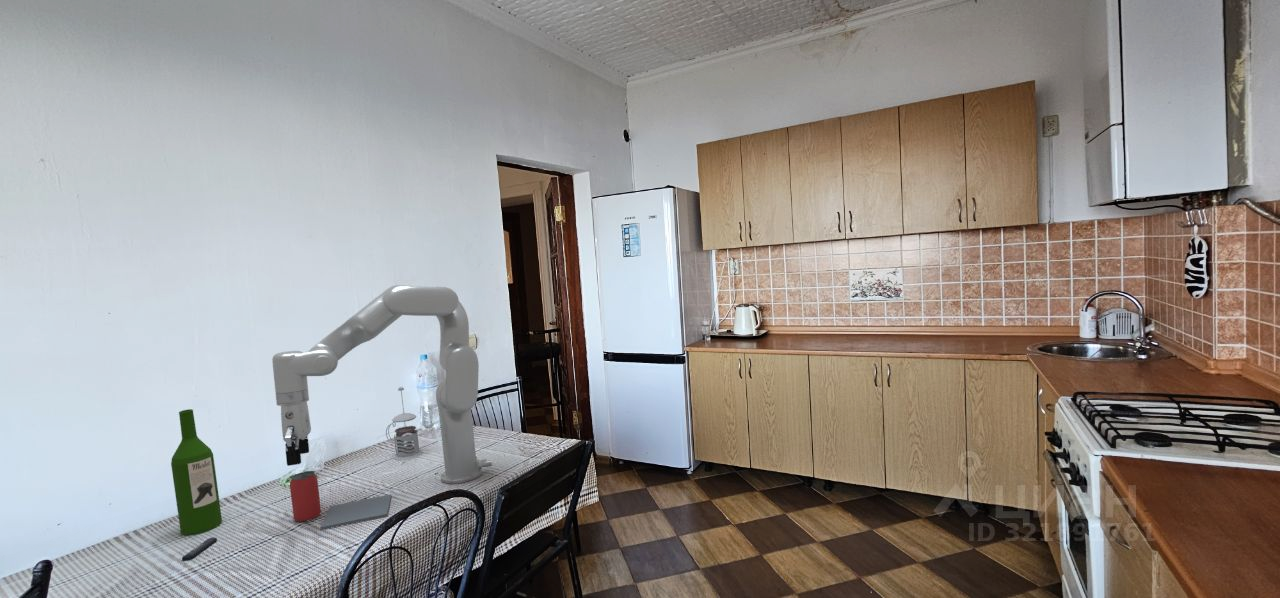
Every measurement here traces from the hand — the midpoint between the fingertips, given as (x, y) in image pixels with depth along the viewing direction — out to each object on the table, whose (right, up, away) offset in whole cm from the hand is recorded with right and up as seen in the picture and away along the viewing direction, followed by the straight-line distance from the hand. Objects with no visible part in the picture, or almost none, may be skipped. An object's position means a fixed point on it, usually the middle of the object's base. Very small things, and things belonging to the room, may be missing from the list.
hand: (298, 458), depth 153 cm
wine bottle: (-26, -19, 0) cm, 33 cm away
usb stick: (-16, -20, -13) cm, 29 cm away
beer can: (+2, -17, +1) cm, 17 cm away
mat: (+15, -16, +2) cm, 22 cm away
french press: (+9, -13, +48) cm, 50 cm away
